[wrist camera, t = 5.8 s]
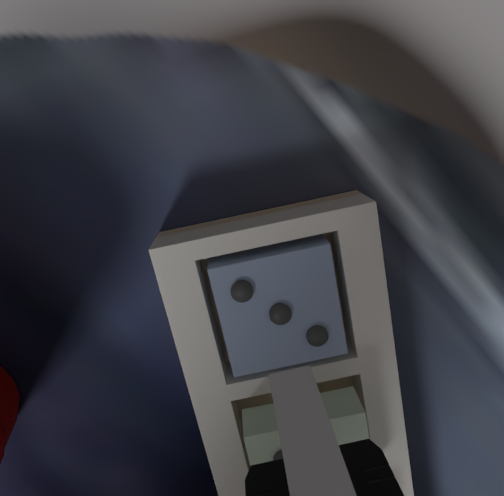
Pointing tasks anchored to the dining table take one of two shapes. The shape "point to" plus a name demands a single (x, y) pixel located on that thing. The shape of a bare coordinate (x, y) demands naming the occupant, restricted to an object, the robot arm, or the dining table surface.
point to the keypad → (324, 370)
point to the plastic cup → (7, 408)
